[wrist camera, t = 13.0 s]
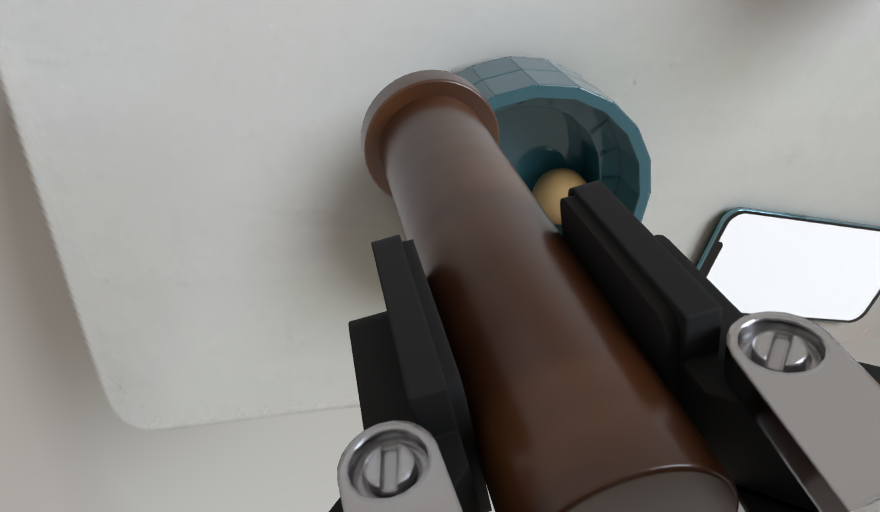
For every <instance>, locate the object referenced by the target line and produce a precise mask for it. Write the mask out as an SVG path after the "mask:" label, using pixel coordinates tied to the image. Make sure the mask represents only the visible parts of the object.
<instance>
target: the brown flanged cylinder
mask: <svg viewBox="0 0 880 512" xmlns="http://www.w3.org/2000/svg"><path fill="white" fill-rule="evenodd" d="M361 145H362V151H363V155H364V159H365V162H366V166H367V168H368V171H369V173H370V175H371V177H372V179H373V180H374V182H375V183H376V184H377V186H378V187H379V188H380V189H381V190H382V191H383V192H384V193H386V194H387V195H388V196H390V197H391V198H393V199H394V202H395V205H396V208H397V211H398V214H399V217H400V220H401V223H402V227H403V230H404V233H405V236H406V239H407V241H408V240H411V239H413V241H414V244H415V247H416V249H417V252H418V255H419V258H420V261H421V264H422V267H423V270H424V273H425V276H426V278H427V281H428V284H429V287H430V290H431V293H432V296H433V299H434V302H435V305H436V307H437V310H438V313H439V316H440V319H441V322H442V325H443V328H444V331H445V333H446V336H447V339H448V342H449V345H450V348H451V351H452V354H453V357H454V360H455V362H456V365H457V368H458V371H459V374H460V378H461V381H462V385H463V388H464V392H465V396H466V400H467V404H468V408H469V413H470V417H471V422H472V426H473V430H474V435H475V439H476V443H477V448H478V458H479V463H480V466H481V470H482V473H483V476H484V479H485V482H486V485H487V488H488V491H489V494H490V497H491V500H492V503H493V506H494V509H495V512H738V508H739V497H738V492H737V488H736V485H735V483H734V481H733V480H732V478H731V477H730V475H729V474H728V472H727V471H726V470H725V468H724V467H723V465H722V464H721V462H720V461H719V460H718V458H717V457H716V455H715V454H714V452H713V451H712V450H711V448H710V447H709V445H708V444H707V442H706V441H705V440H704V438H703V437H702V435H701V434H700V432H699V431H698V430H697V428H696V427H695V425H694V424H693V422H692V421H691V420H690V418H689V417H688V415H687V414H686V412H685V411H684V410H683V408H682V407H681V405H680V404H679V402H678V401H677V400H676V398H675V397H674V395H673V394H672V392H671V391H670V390H669V388H668V387H667V385H666V384H665V382H664V381H663V380H662V378H661V377H660V375H659V374H658V372H657V371H656V370H655V368H654V367H653V365H652V364H651V362H650V361H649V360H648V358H647V357H646V355H645V354H644V352H643V351H642V349H641V348H640V347H639V345H638V344H637V342H636V341H635V339H634V338H633V337H632V335H631V334H630V332H629V331H628V329H627V328H626V327H625V325H624V324H623V322H622V321H621V319H620V318H619V317H618V315H617V314H616V312H615V311H614V309H613V308H612V307H611V305H610V304H609V302H608V301H607V299H606V298H605V297H604V295H603V294H602V292H601V291H600V289H599V288H598V287H597V285H596V284H595V282H594V281H593V279H592V278H591V277H590V275H589V274H588V272H587V271H586V269H585V268H584V267H583V265H582V264H581V262H580V261H579V259H578V258H577V257H576V255H575V254H574V252H573V251H572V249H571V248H570V247H569V245H568V244H567V242H566V241H565V239H564V238H563V237H562V235H561V234H560V232H559V231H558V229H557V228H556V227H555V225H554V224H553V222H552V221H551V219H550V218H549V217H548V215H547V214H546V212H545V211H544V209H543V208H542V207H541V205H540V204H539V202H538V201H537V199H536V198H535V197H534V195H533V194H532V192H531V191H530V189H529V188H528V187H527V185H526V184H525V182H524V181H523V179H522V178H521V177H520V175H519V174H518V172H517V171H516V169H515V168H514V167H513V165H512V164H511V162H510V161H509V159H508V158H507V157H506V155H505V154H504V152H503V151H502V149H501V148H500V147H499V127H498V123H497V119H496V116H495V114H494V111H493V110H492V108H491V106H490V105H489V103H488V102H487V101H486V99H485V98H484V97H483V95H482V94H481V93H480V92H479V90H478V89H477V88H476V87H475V86H474V85H473V84H472V83H470V82H469V81H467V80H466V79H464V78H462V77H460V76H458V75H456V74H453V73H450V72H446V71H440V70H424V71H418V72H414V73H410V74H408V75H405V76H403V77H401V78H399V79H397V80H395V81H393V82H392V83H390V84H389V85H388V86H386V87H385V88H384V89H383V90H382V91H381V92H380V93H379V94H378V95H377V96H376V98H375V99H374V100H373V102H372V103H371V105H370V106H369V108H368V110H367V112H366V115H365V118H364V121H363V125H362V130H361Z"/></svg>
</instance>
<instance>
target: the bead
mask: <svg viewBox="0 0 880 512" xmlns="http://www.w3.org/2000/svg"><path fill="white" fill-rule="evenodd" d="M583 184H587V183H586V181H585V180H584V178H583V177H582V176H581V175H580V174H578V173H577V172H575V171H573V170H571V169H567V168H555V169H552V170H549V171H547V172H546V173H544V174H543V175H542V176H541V177H540V178H539V179H538V180H537V182H536V183H535V185H534V188H533V191H532V194H533V195H534V197H535V198H536V199H537V201H538V202H539V204H540V205H541V207H542V208H543V209H544V211H545V212H546V214H547V215H548V217H549V218H550V219H551V221H552V222H553V224H555V225H561V213H560V200H561V198H564V197H568V191H569V189H570V188H572V187H576V186H579V185H583Z"/></svg>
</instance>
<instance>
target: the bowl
mask: <svg viewBox="0 0 880 512" xmlns="http://www.w3.org/2000/svg"><path fill="white" fill-rule="evenodd" d="M458 76H460V77H462V78H464V79H466V80H467V81H469V82H470V83H472V84H473V85H474V86H475V87H476V88H477V89H478V90H479V92H480V93H481V94H482V95H483V97H484V98H485V99H486V101H487V102H488V103H489V105H490V106H491V108H492V110H493V111H494V114H495V116H496V119H497V123H498V127H499V147H500V148H501V149H502V151H503V152H504V154H505V155H506V157H507V158H508V159H509V161H510V162H511V164H512V165H513V167H514V168H515V169H516V171H517V172H518V174H519V175H520V177H521V178H522V179H523V181H524V182H525V184H526V185H527V187H528V188H529V189H530V191H531V192H532V191H533V188H534V185H535V183H536V182H537V180H538V179H539V178H540V177H541V176H542V175H543V174H544V173H546V172H547V171H549V170H552V169H555V168H567V169H571V170H573V171H575V172H577V173H578V174H580V175H581V176H582V177H583V178H584V180H585V181H586V183H590V182H594V181H601V182H602V183H603V184H604V185H605V186H606V187H607V188H608V189H609V190H610V191H611V192H612V193H613V194H614V195H615V196H616V197H617V198H618V199H619V200H620V201H621V202H622V203H623V204H624V205H625V207H626V208H627V209H628V210H629V211H630V212H631V213H632V214H633V215H634V216H635V217H636V218H637V219H638V220H639V221H640V222H642V219H643V216H644V212H645V209H646V206H647V203H648V200H649V197H650V193H651V160H650V156H649V154H648V151H647V149H646V146H645V144H644V141H643V138H642V136H641V133H640V131H639V128H638V127H637V125H636V124H635V123H634V122H633V121H632V120H631V119H630V118H629V117H628V116H627V115H626V114H625V113H624V112H623V111H622V110H621V109H620V107H619V106H618V105H617V104H616V103H615V102H613V101H612V100H611V99H610V98H608V97H607V96H606V95H604V94H603V93H602V92H601V91H599V90H598V89H597V88H595V87H594V86H593V85H592V84H590V83H589V82H588V81H586V80H585V79H584V78H583V77H581V76H580V75H579V74H577V73H576V72H573V71H571V70H569V69H567V68H564V67H562V66H560V65H558V64H556V63H553V62H551V61H549V60H545V59H540V58H524V57H505V58H501V59H497V60H493V61H489V62H486V63H482V64H478V65H474V66H471V68H470V67H469V68H467V69H466V70H464V71H462V72H461V73H459V74H458ZM554 225H555V224H554ZM555 227H556V228H557V229H558V231H559V232H560V234H561V235H562V225H555ZM562 237H563V236H562Z"/></svg>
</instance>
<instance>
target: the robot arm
mask: <svg viewBox="0 0 880 512" xmlns="http://www.w3.org/2000/svg"><path fill="white" fill-rule="evenodd" d="M560 213H561V225H562V236H563V238H564V239H565V241H566V242H567V244H568V245H569V247H570V248H571V249H572V251H573V252H574V254H575V255H576V257H577V258H578V259H579V261H580V262H581V264H582V265H583V267H584V268H585V269H586V271H587V272H588V274H589V275H590V277H591V278H592V279H593V281H594V282H595V284H596V285H597V287H598V288H599V289H600V291H601V292H602V294H603V295H604V297H605V298H606V299H607V301H608V302H609V304H610V305H611V307H612V308H613V309H614V311H615V312H616V314H617V315H618V317H619V318H620V319H621V321H622V322H623V324H624V325H625V327H626V328H627V329H628V331H629V332H630V334H631V335H632V337H633V338H634V339H635V341H636V342H637V344H638V345H639V347H640V348H641V349H642V351H643V352H644V354H645V355H646V357H647V358H648V360H649V361H650V362H651V364H652V365H653V367H654V368H655V370H656V371H657V372H658V374H659V375H660V377H661V378H662V380H663V381H664V382H665V384H666V385H667V387H668V388H669V390H670V391H671V392H672V394H673V395H674V397H675V398H676V400H677V401H678V402H679V404H680V405H681V407H682V408H683V410H684V411H685V412H686V414H687V415H688V417H689V418H690V420H691V421H692V422H693V424H694V425H695V427H696V428H697V430H698V431H699V432H700V434H701V435H702V437H703V438H704V440H705V441H706V442H707V444H708V445H709V447H710V448H711V450H712V451H713V452H714V454H715V455H716V457H717V458H718V460H719V461H720V462H721V464H722V465H723V467H724V468H725V470H726V471H727V472H728V474H729V475H730V477H731V478H732V480H733V481H734V483H735V485H736V488H737V492H738V497H739V508H738V512H880V367H878V366H874V365H870V364H865V363H861V362H857V361H856V360H855V359H854V358H853V357H852V356H851V355H850V354H849V353H848V352H847V351H846V350H845V349H844V348H843V347H842V346H841V345H840V344H839V343H838V342H837V341H836V340H835V339H834V338H833V337H832V336H831V334H830V333H828V332H827V331H826V330H825V329H823V328H822V327H821V326H819V325H818V324H817V323H815V322H812V321H810V320H808V319H806V318H804V317H802V316H798V315H794V314H790V313H786V312H774V311H766V312H758V313H752V314H749V315H747V316H744V315H743V314H742V313H741V312H740V311H739V310H738V309H737V308H736V307H735V306H734V305H733V304H732V303H731V302H730V301H729V300H728V299H727V298H726V297H725V296H724V295H723V294H722V293H721V292H720V291H719V290H718V289H717V288H716V287H715V286H714V285H713V284H712V283H711V282H710V281H709V280H708V279H707V278H706V277H705V276H704V275H703V274H702V273H701V272H700V271H699V270H698V269H697V268H696V267H695V266H694V265H693V264H692V263H691V262H690V261H689V260H688V259H687V257H686V256H685V255H684V254H683V253H682V252H681V251H680V250H679V249H678V248H677V247H676V246H675V245H674V244H673V243H672V242H671V241H670V240H669V239H667V238H666V237H665V236H663V235H655V236H653V234H652V233H651V232H650V231H649V230H648V229H647V228H646V227H645V226H644V225H643V224H642V223H641V222H640V221H639V220H638V219H637V218H636V217H635V216H634V215H633V214H632V213H631V212H630V211H629V210H628V209H627V208H626V207H625V205H624V204H623V203H622V202H621V201H620V200H619V199H618V198H617V197H616V196H615V195H614V194H613V193H612V192H611V191H610V190H609V189H608V188H607V187H606V186H605V185H604V184H603V183H602V182H601V181H594V182H590V183H587V184H583V185H579V186H576V187H572V188H570V189H569V191H568V197H564V198H561V200H560ZM371 245H372V249H373V253H374V258H375V262H376V266H377V270H378V274H379V279H380V283H381V287H382V291H383V296H384V300H385V304H386V308H387V311H385V312H382V313H378V314H375V315H371V316H368V317H364V318H361V319H357V320H353V321H350V322H349V333H350V339H351V346H352V353H353V360H354V367H355V373H356V380H357V387H358V394H359V400H360V407H361V413H362V421H363V427H364V431H363V432H362V433H360V434H359V435H358V436H357V437H355V438H354V439H353V440H352V441H351V442H350V443H349V445H348V446H347V447H346V449H345V450H344V452H343V453H342V455H341V458H340V461H339V464H338V468H337V480H338V486H339V491H340V496H341V497H340V498H339V500H338V501H337V502H336V503H335V505H334V506H333V507H332V509H331V510H330V511H329V512H489V511H492V509H491V504H490V500H489V495H488V491H487V487H486V482H485V479H484V476H483V473H482V470H481V466H480V463H479V458H478V448H477V443H476V439H475V435H474V430H473V426H472V422H471V417H470V413H469V408H468V404H467V400H466V396H465V392H464V388H463V385H462V381H461V378H460V374H459V371H458V368H457V365H456V362H455V360H454V357H453V354H452V351H451V348H450V345H449V342H448V339H447V336H446V333H445V331H444V328H443V325H442V322H441V319H440V316H439V313H438V310H437V307H436V305H435V302H434V299H433V296H432V293H431V290H430V287H429V284H428V281H427V278H426V276H425V273H424V270H423V267H422V264H421V261H420V258H419V255H418V252H417V249H416V247H415V244H414V241H413V239H411V240H408V241H404V242H402V241H401V238H400V235H396V236H393V237H389V238H385V239H382V240H378V241H374V242H371Z"/></svg>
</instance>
